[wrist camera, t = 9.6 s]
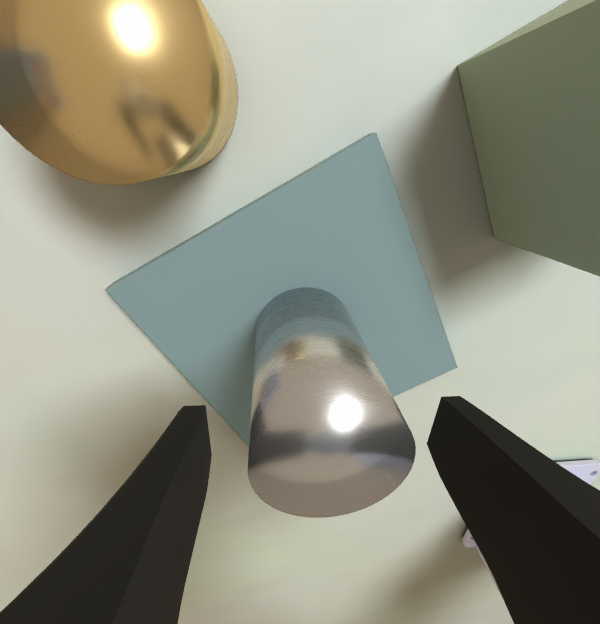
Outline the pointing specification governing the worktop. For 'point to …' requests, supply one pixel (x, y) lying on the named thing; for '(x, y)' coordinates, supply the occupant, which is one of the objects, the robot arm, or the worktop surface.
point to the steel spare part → (321, 412)
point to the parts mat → (293, 281)
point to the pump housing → (541, 133)
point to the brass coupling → (116, 86)
